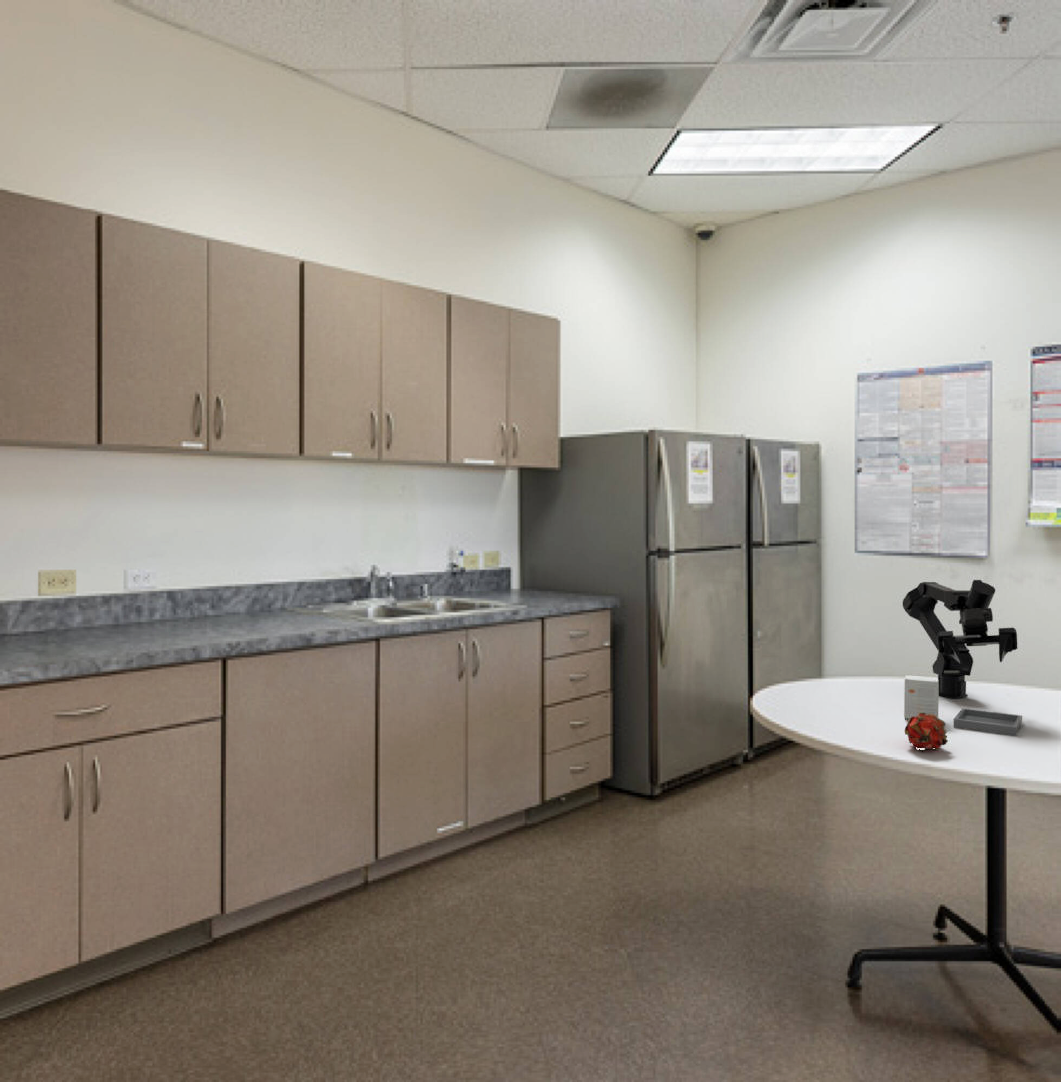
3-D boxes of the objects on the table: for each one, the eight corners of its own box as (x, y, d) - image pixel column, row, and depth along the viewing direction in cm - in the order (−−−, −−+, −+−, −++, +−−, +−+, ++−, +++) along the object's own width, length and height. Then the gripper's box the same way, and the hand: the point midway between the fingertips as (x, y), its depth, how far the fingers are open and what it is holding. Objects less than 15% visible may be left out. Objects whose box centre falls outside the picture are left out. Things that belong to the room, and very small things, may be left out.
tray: (953, 726, 211) (953, 718, 211) (962, 715, 222) (962, 708, 222) (1016, 735, 204) (1016, 727, 203) (1022, 723, 215) (1022, 715, 215)
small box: (938, 717, 221) (938, 677, 220) (938, 722, 216) (939, 681, 215) (904, 714, 224) (905, 674, 223) (903, 719, 219) (904, 678, 218)
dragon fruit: (930, 748, 198) (927, 769, 188) (898, 724, 201) (893, 744, 190) (955, 723, 195) (953, 743, 184) (922, 698, 197) (918, 717, 187)
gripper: (933, 602, 232) (938, 639, 220) (1011, 597, 225) (1021, 635, 212) (936, 634, 237) (941, 672, 225) (1012, 629, 230) (1022, 668, 218)
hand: (980, 661), depth 220 cm, fingers open, 9 cm apart
